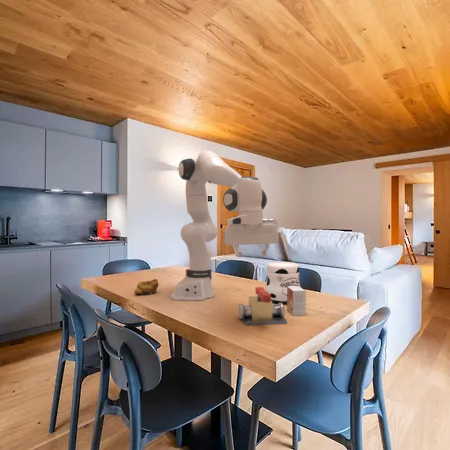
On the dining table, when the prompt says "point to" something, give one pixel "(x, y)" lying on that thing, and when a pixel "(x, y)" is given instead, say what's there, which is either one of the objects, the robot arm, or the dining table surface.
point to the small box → (296, 300)
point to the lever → (263, 294)
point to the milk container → (281, 279)
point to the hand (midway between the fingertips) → (251, 256)
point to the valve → (262, 312)
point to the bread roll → (147, 287)
